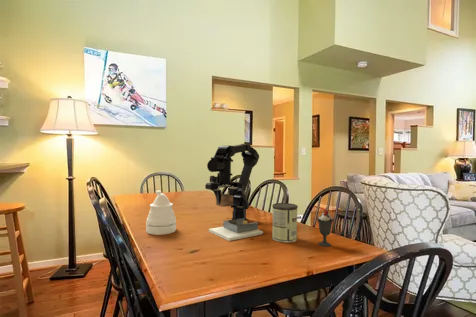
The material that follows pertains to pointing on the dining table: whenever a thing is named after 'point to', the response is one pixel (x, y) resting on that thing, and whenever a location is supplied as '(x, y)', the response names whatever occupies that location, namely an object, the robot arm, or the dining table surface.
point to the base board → (234, 233)
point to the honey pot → (161, 216)
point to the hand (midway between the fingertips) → (224, 203)
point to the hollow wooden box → (225, 200)
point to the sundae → (325, 227)
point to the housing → (239, 225)
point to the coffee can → (284, 222)
